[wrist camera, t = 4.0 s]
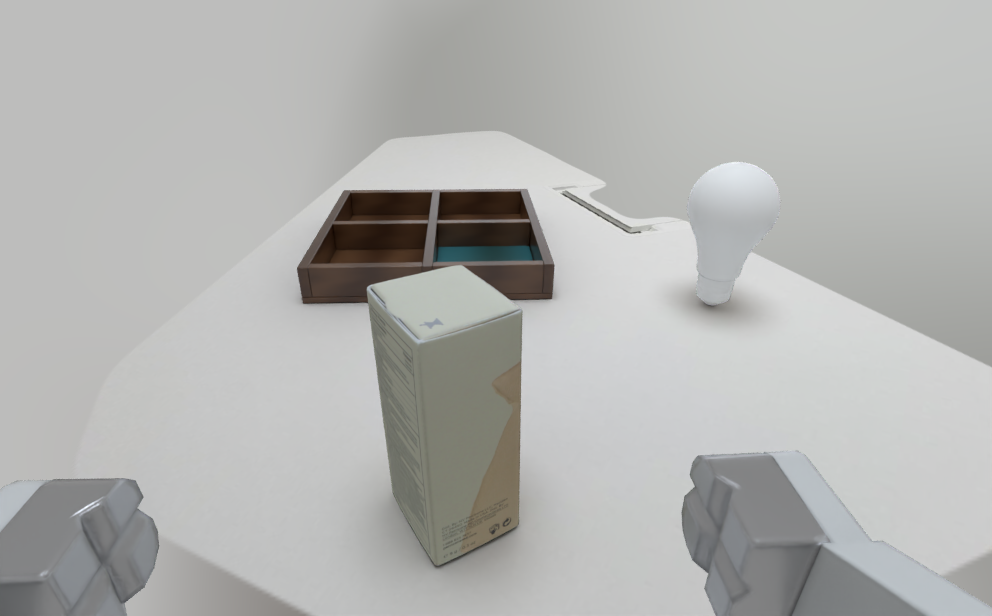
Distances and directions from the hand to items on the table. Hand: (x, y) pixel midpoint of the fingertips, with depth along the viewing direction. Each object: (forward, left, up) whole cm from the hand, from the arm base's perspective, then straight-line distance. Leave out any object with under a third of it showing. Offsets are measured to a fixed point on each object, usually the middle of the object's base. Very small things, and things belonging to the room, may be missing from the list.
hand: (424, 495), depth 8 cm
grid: (-2, +42, -14) cm, 45 cm away
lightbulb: (+20, +31, -14) cm, 40 cm away
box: (0, +12, -14) cm, 19 cm away
